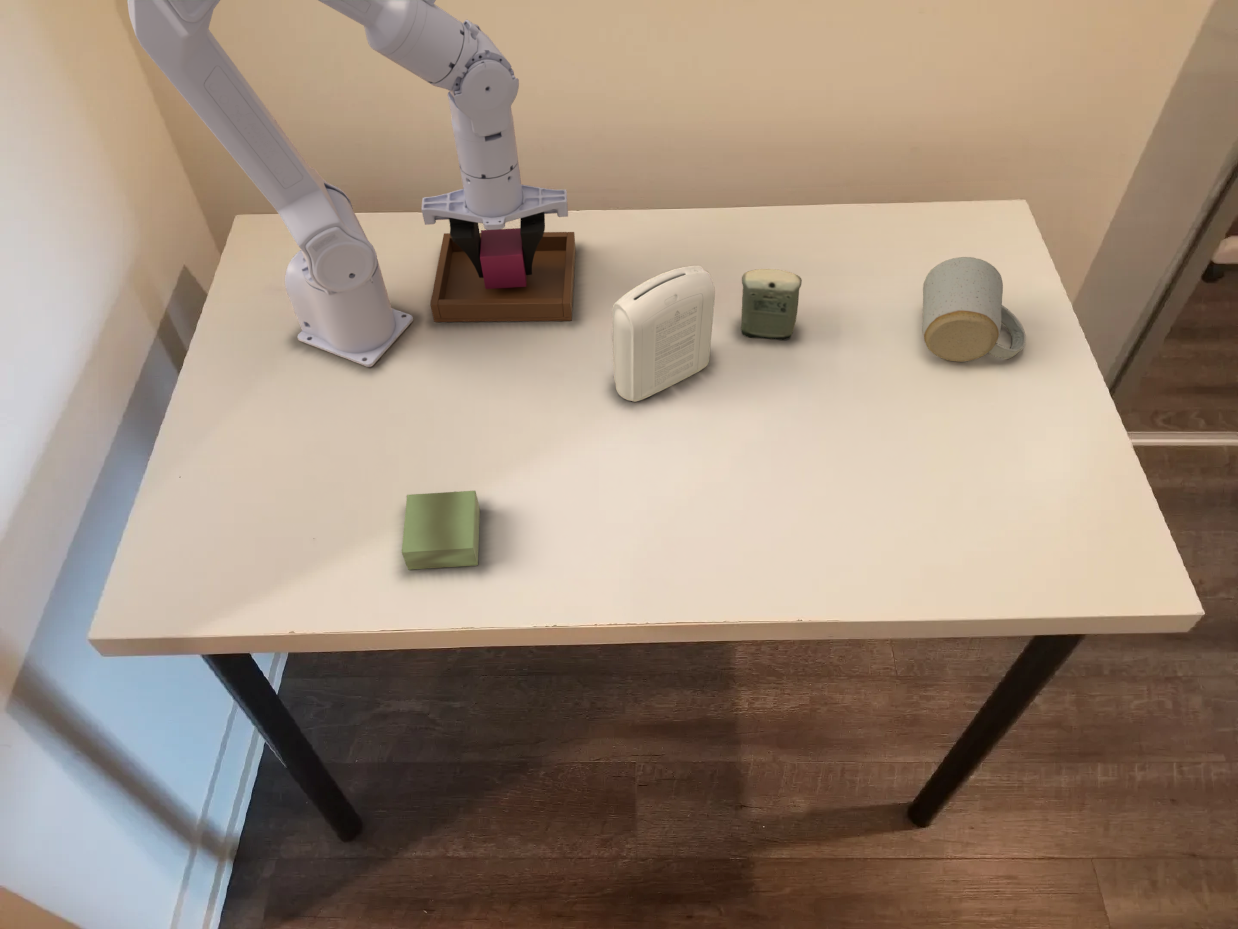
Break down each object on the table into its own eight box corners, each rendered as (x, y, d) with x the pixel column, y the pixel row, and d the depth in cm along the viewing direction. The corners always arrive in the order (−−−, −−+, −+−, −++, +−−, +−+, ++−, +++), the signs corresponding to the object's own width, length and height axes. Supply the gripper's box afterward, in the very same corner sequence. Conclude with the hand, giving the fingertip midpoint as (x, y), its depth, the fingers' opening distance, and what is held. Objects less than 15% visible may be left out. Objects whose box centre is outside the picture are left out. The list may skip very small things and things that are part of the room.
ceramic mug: (913, 362, 94) (934, 305, 88) (914, 306, 99) (934, 249, 92) (1022, 377, 92) (1051, 320, 86) (1018, 320, 97) (1044, 263, 91)
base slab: (408, 570, 80) (401, 552, 78) (413, 512, 84) (406, 494, 82) (477, 565, 80) (473, 548, 78) (479, 508, 84) (475, 490, 82)
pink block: (485, 289, 100) (479, 256, 96) (486, 262, 102) (480, 229, 99) (526, 286, 100) (522, 254, 96) (526, 259, 102) (522, 227, 99)
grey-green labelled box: (751, 357, 95) (759, 298, 88) (727, 324, 98) (733, 265, 91) (800, 340, 96) (811, 280, 90) (774, 308, 99) (783, 248, 93)
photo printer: (690, 341, 96) (695, 246, 86) (715, 366, 94) (724, 271, 84) (607, 383, 93) (602, 289, 83) (631, 410, 91) (629, 316, 81)
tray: (434, 322, 99) (429, 304, 97) (447, 250, 106) (443, 232, 104) (571, 320, 98) (570, 303, 96) (575, 249, 106) (574, 231, 104)
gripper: (410, 190, 87) (435, 299, 98) (564, 181, 88) (573, 291, 98) (415, 146, 92) (439, 255, 102) (562, 138, 92) (571, 248, 103)
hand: (505, 270), depth 101 cm, fingers closed on pink block, 4 cm apart
